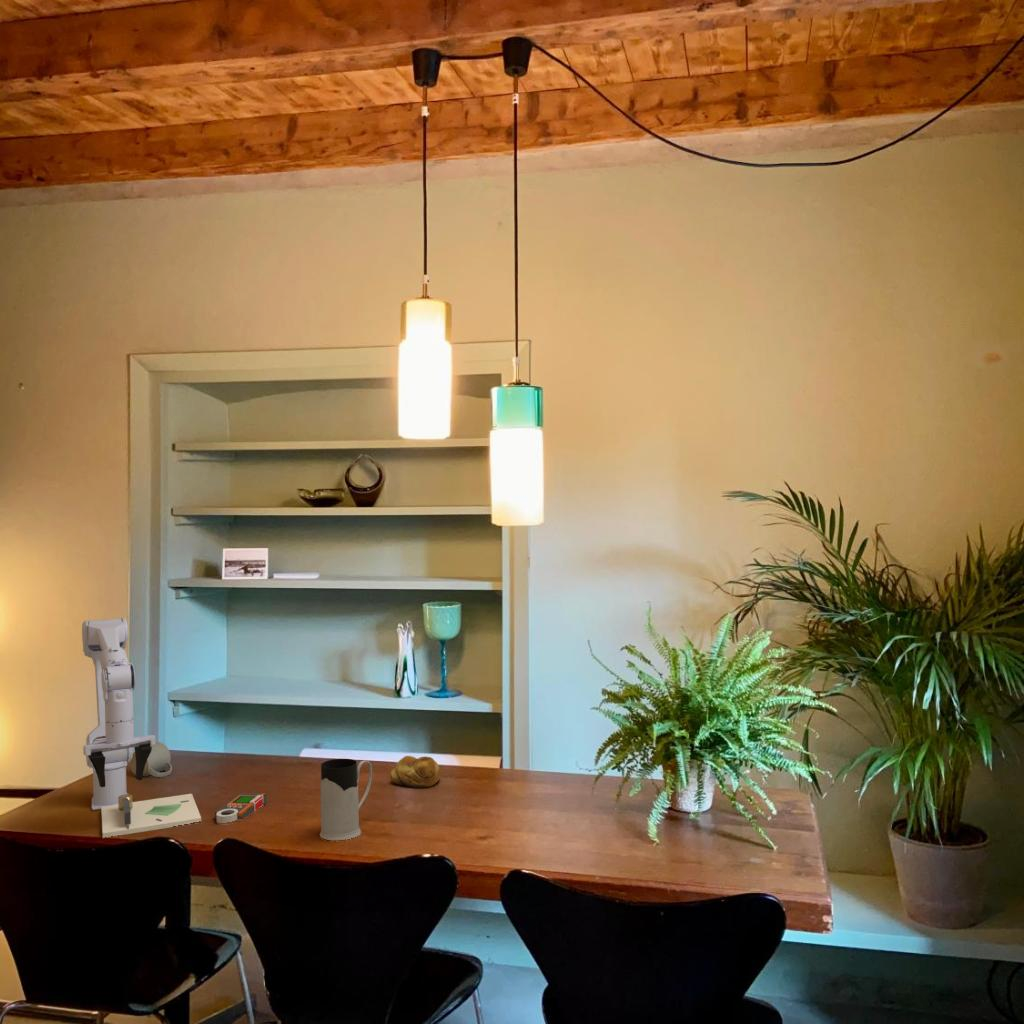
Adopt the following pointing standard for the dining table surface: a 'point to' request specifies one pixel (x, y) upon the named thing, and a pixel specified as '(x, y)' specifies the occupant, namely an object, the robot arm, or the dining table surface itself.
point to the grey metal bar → (125, 807)
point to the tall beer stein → (341, 798)
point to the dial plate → (150, 815)
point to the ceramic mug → (155, 761)
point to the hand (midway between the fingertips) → (121, 782)
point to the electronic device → (240, 807)
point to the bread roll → (416, 772)
